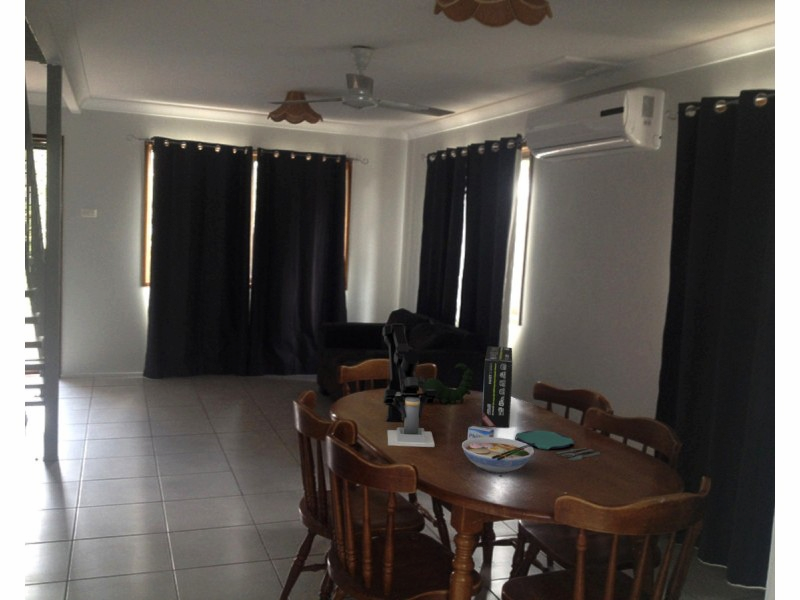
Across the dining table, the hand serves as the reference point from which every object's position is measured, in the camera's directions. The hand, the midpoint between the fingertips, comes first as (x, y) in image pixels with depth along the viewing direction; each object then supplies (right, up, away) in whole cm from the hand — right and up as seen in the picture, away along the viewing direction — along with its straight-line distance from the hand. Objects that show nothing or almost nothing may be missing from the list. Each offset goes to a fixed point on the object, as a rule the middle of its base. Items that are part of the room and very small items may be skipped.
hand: (412, 417), depth 253 cm
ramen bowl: (+26, -13, -25) cm, 38 cm away
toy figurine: (+14, -4, +63) cm, 65 cm away
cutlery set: (+51, -12, +5) cm, 52 cm away
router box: (+35, -7, +44) cm, 57 cm away
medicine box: (+23, -11, -8) cm, 26 cm away
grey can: (-1, -6, +2) cm, 7 cm away
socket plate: (-1, -9, +4) cm, 10 cm away
